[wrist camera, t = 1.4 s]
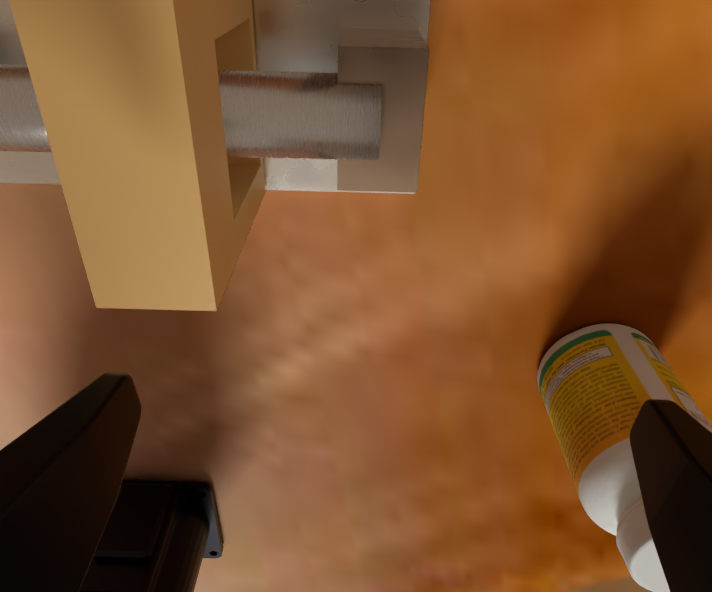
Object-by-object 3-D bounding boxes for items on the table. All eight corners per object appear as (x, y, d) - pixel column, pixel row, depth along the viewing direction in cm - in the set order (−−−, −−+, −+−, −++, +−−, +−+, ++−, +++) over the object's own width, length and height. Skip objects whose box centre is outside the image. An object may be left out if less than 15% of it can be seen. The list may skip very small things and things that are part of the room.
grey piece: (430, -26, 17) (451, -16, 13) (413, 187, 21) (424, 248, 17) (-337, -45, 17) (-563, -42, 13) (-216, 171, 21) (-360, 227, 17)
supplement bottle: (672, 324, 24) (826, 516, 16) (628, 412, 27) (740, 612, 19) (552, 313, 24) (646, 502, 16) (520, 403, 27) (587, 601, 19)
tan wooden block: (249, -29, 16) (171, -11, 10) (265, 191, 20) (216, 311, 14) (149, -32, 16) (4, -15, 10) (184, 189, 20) (96, 307, 14)
